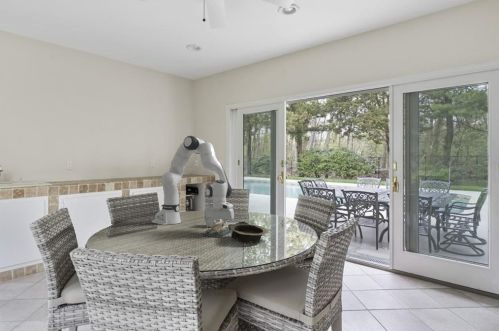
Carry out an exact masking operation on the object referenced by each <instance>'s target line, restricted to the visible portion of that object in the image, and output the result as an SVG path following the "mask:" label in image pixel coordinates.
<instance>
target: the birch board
mask: <svg viewBox="0 0 499 331" xmlns="http://www.w3.org/2000/svg"><path fill="white" fill-rule="evenodd" d="M222 223H224V220H222V221H221V222H218V223H216V224H213V225H211V227H210V229H211V230H216V231H217V229H220V230H221V229H223V228H225V227H228V225H229V224H228V221H226V223H225V226H222Z"/></svg>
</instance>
